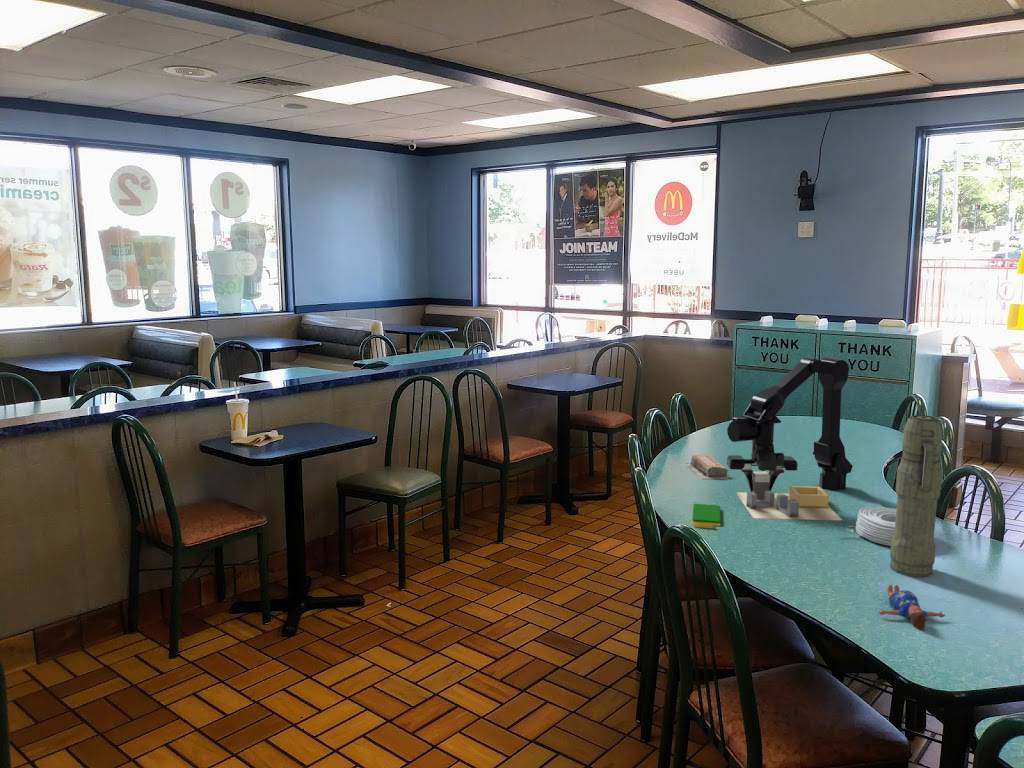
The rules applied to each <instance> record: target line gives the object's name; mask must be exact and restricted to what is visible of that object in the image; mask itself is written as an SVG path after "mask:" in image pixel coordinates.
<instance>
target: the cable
mask: <svg viewBox="0 0 1024 768" xmlns="http://www.w3.org/2000/svg"><path fill="white" fill-rule="evenodd" d="M896 509H897V508H891V507H890V508H889V507H878V506H877V507H873V506H869V507H867V506H865V507H863V508H860V509H859V511H858V514H857V518H856V519H857V520H856V522H855V525H848V526H847V528H846V529H845V530H846V531H848V532H852V533H855V532H856V533H857V534H859V538H861V537H862V539H864V538H866V539H865V540H867V539H868V540H867V541H869V542H870V541H871V542H874V543H876V544H879V545H884V546H888V547H891V538H892V536H893V534H894V532H895V521H896ZM849 528H851V529H849Z"/></svg>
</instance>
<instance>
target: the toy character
mask: <svg viewBox="0 0 1024 768" xmlns="http://www.w3.org/2000/svg"><path fill="white" fill-rule="evenodd" d="M886 592H887V596H888V602H889V605H890V608H891V609H892V610H885V609H882V608H880V610H881V611H880V612H878V614H879V615H882V616H883V615H892V616H899V617H904V618H907V619H908V618H910V619H909V620H910V623H911V624H912V626H913V627H914V628H916V629H918V630H921V631H923V630H924V628H925V626H926V621H927V618H926V617H940V618H944V617H946V614H945V613H944V614H943V611H942V610H941V611H939V612H933V611H927V610H922V608H921V606H920V604H919V599H918V597H917V596H916V595H915V593H913V591H910V590H906V589H905V590H901V589H900V586H898V584H895V585H894V587H893V585H892V584H888V585H887V588H886Z"/></svg>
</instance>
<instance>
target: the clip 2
mask: <svg viewBox="0 0 1024 768" xmlns="http://www.w3.org/2000/svg"><path fill="white" fill-rule="evenodd" d="M776 509H777V510H778V511H780V512H782V513H783V514H785V515H787V516H788V517H798V515H799V502H798V501H788V496H787V495H777V502H776Z"/></svg>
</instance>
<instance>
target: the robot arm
mask: <svg viewBox="0 0 1024 768" xmlns="http://www.w3.org/2000/svg"><path fill="white" fill-rule="evenodd" d="M849 372H850V365H849V363H847V361H846V360H844V359H839V358H832V357H824V358H821V359H818V358H813V357H803V358H801V359H800V360H799V363H798V364H796V366H794V367H792V369H791V370H789V371H788V372H787V374H785V375H784V376H783V377H782V378H780V380H778V382H776V383H775V384H774V385H772V386H771V387H769V388H768V387H767V388H765V389H763V390H761V391H759V392H758V393H756V394H755V395H753V396H752V397H751V399H750V403H749V404H748V406H747V408H746V409H745V410H744V411H743V414H742V415H741V416H742V417H739V416H736V417H735V416H734V417H732V420H731V422H730V423H729V424H728V426H727V429H726V431H727V433H726V434H727V437H728V439H729V440H730V441H731V442H733V443H738V442H748V441H749V442H750V441H751V454H750V457H751V458H744V457H742V455H735V454H733V455H732V454H731V455H728V456H727V458H726V465H727V467H728V468H729V470H739V471H741V472H742V473H744V476H745V478H746V482H747V484H748V485H747V486H748V489H749V492H753V478H752V474H753V471H754V470H753V469H752V467H753V466H754V467H757V469H758V470H759V471H760V472H766V471H768V474H769V475H770V484H769V491H772V489H773V487H774V484H775V482H776V481H777V478H778V477H779V476H780V474H784V473H785V471H798V466H799V464H798V461H797V460H796V459H795V458H794V457H792V455H790V456H789V455H788V456H787V455H786V456H785V454H784V452H775V444H774V437H775V435H774V433H775V424H781V423H782V420H781V419H780V418H778V416H777V415H778V413H779V412H780V411H781V410H782V409H783V407H784V405H785V402H786V399H787V398H788V397H789V396H790V395H791V394H793V392H795V391H796V390H797V389H798V388H800V387H801V386H802V385H803V384H804V383H805V382H806V381H807V380H808V379H809V378H811V377H812V376H813V375H814V374H815V373H817V377H818V378H817V379H818V380H819V382H820V385H821V387H822V390H823V391H822V414H821V415H822V416H821V417H822V418H821V435H820V437H819V439H818V440H817V441H814V442H813V452H812V455H813V456H814V459H815V461H816V463H817V467H818V468H821V472H820V473H819V479H818V480H819V484H818V487H820V488H821V489H822V490H830V491H843V490H846V487H847V475H848V474H850V473H851V472H852V469H853V465H852V463H851V462H850V461H849V460H848V458H847V457H846V449H845V445H844V443H843V441H842V439H841V436H840V434H841V433H840V432H841V412H842V411H841V409H842V408H841V407H842V389H843V388H844V386H845V385H846V383H847V382H848V378H849ZM784 469H785V470H784Z"/></svg>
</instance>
